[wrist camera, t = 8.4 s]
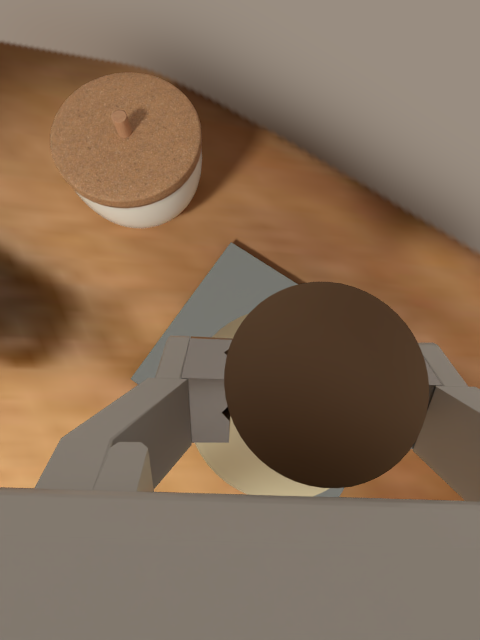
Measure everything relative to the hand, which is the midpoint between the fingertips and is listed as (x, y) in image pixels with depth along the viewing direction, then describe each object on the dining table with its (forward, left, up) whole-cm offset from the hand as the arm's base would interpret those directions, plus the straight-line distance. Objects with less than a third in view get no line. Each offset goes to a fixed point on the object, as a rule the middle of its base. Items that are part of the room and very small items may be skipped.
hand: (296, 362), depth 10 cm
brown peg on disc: (0, -1, -4) cm, 5 cm away
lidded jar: (-18, +10, -23) cm, 30 cm away
